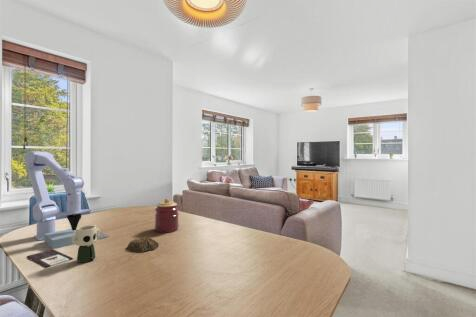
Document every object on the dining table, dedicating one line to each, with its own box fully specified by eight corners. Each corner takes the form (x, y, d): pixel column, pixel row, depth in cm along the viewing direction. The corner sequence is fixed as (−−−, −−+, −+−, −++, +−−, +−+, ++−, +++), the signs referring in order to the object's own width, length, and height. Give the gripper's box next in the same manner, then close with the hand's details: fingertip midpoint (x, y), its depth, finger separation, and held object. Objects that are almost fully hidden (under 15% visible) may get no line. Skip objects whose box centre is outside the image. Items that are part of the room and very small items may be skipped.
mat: (71, 235, 129) (71, 235, 129) (96, 230, 138) (96, 230, 138) (82, 242, 118) (82, 242, 118) (108, 236, 128) (108, 236, 128)
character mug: (77, 267, 92) (77, 232, 92) (66, 263, 96) (66, 229, 96) (104, 256, 102) (104, 225, 102) (93, 253, 105) (93, 223, 105)
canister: (183, 228, 143) (183, 197, 143) (165, 234, 132) (165, 201, 132) (167, 225, 150) (167, 195, 150) (149, 230, 139) (149, 198, 139)
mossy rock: (124, 247, 113) (124, 236, 113) (150, 241, 122) (150, 231, 122) (137, 255, 105) (137, 243, 104) (163, 247, 114) (164, 236, 114)
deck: (44, 242, 119) (44, 233, 119) (71, 236, 128) (71, 228, 128) (52, 249, 110) (52, 240, 110) (80, 242, 119) (80, 234, 119)
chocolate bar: (52, 249, 109) (72, 258, 100) (52, 251, 109) (72, 260, 100) (26, 256, 102) (46, 266, 92) (26, 258, 102) (46, 269, 92)
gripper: (58, 205, 114) (58, 235, 115) (93, 201, 125) (93, 228, 126) (54, 203, 119) (54, 232, 119) (88, 199, 130) (88, 225, 130)
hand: (74, 229), depth 123 cm, fingers closed
